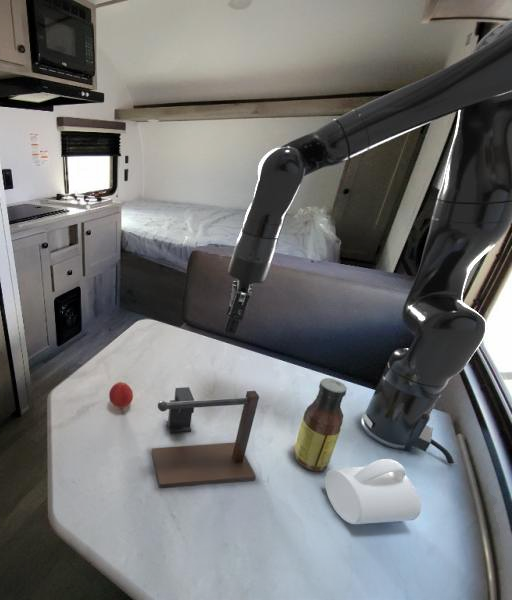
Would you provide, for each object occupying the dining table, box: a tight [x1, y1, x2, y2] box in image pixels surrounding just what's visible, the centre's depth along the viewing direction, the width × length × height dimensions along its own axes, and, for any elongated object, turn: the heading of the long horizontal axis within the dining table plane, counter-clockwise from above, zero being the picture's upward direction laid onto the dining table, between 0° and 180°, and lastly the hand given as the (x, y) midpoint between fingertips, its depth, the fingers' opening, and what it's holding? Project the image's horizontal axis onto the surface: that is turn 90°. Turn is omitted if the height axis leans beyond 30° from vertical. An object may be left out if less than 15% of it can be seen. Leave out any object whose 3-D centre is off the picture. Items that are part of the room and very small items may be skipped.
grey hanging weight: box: [166, 386, 196, 434], centre depth 71 cm, size 5×5×12 cm
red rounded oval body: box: [108, 380, 134, 409], centre depth 79 cm, size 6×6×8 cm
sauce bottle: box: [293, 377, 348, 472], centre depth 62 cm, size 7×6×20 cm
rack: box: [151, 390, 260, 489], centre depth 61 cm, size 8×19×19 cm, turn 94°
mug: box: [324, 458, 422, 525], centre depth 55 cm, size 8×10×12 cm
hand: (230, 323), depth 72 cm, fingers open, 8 cm apart
